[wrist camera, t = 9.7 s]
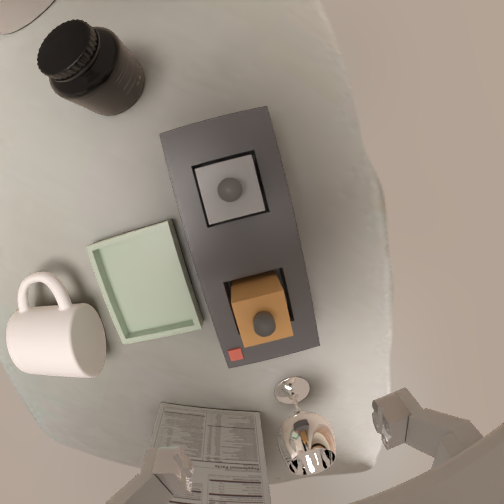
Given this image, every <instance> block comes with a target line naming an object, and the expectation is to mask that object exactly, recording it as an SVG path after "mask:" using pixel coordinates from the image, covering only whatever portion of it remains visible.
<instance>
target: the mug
mask: <svg viewBox="0 0 504 504" xmlns="http://www.w3.org/2000/svg"><path fill="white" fill-rule="evenodd" d="M35 282H43V283H45V284H46V285H47V286H48V287H49V288H50V290H51V291H52V293H53V294H54V296H55V298H56V301H57V303H58V305H53V306H40V307H30V305H29V301H28V288H29V286H30V285H31V284H33V283H35ZM18 307H19V309H18V310H16V311H15V312H14V313H13V314H12V316H11V317H10V319H9V322H8V325H7V331H6V341H7V347H8V351H9V354H10V356H11V359H12V360H13V362H14V363H15V365H16V366H17V367H18V368H19V369H20V370H21V371H23V372H25V373H29V374H39V375H51V376H66V377H87V378H92V377H95V376H97V375H98V374H99V373H100V372H101V370H102V368H103V366H104V363H105V358H106V337H105V332H104V327H103V324H102V321H101V319H100V317H99V315H98V313H97V312H96V310H95V309H94V308H93V307H92V306H91V305H89V304H86V303H79V304H72V303H71V300H70V298H69V295H68V293H67V291H66V289H65V287H64V285H63V284H62V282H61V281H60V280H59V279H58V278H57V277H56V276H55V275H53V274H51V273H49V272H35V273H32V274H30V275H29V276H27V277H26V278H25V279H24V280H23V281H22V283H21V285H20V287H19V290H18Z"/></svg>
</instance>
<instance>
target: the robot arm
mask: <svg viewBox="0 0 504 504" xmlns="http://www.w3.org/2000/svg"><path fill="white" fill-rule="evenodd" d="M53 1H54V0H0V33H1V34H9V33H12V32H15V31H17V30H19V29H21V28H22V27H24V26H26V25H27V24H29V23H30V22H31V21H33V20H34V19H35V18H36V17H38V16H39V15H40V14H41V13H42V12H43V11H44V10H45V9H46V8H47V7H48V6H49V5H50V4H51V3H52V2H53ZM372 407H373V409H374V412H373V413H372V418H373V423H374V426H375V429H376V431H377V433H380V434H382V435H381V440H382V442H383V444H384V445H385V447H386V449H387V450H388V449H390V448H393V447H395V446H398V445H400V444H402V443H406V444H408V445H410V446H412V447H413V448H416V449H418V450H420V451H422V452H424V453H426V454H428V455H430V456H432V457H434V458H435V459H434V462H433V465H432V468H431V469H430V470H428V471H427V472H425V473H423V474H421V475H419V476H417V477H415V478H412V479H410V480H408V481H406V482H404V483H402V484H399V485H397V486H395V487H393V488H390V489H388V490H385V491H383V492H380V493H378V494H375V495H373V496H370V497H367V498H365V499H362V500H359V501H356V502H353V503H350V504H504V423H503V424H501V425H500V426H498V427H497V428H496V429H495V430H493V431H492V432H490V433H489V434H488V435H486V436H485V437H483V436H482V435H481V433H480V432H479V431H478V430H477V429H476V427H474V425H473V424H472V423H471V422H470V421H469V420H465V419H462V418H458V417H454V416H451V415H448V414H444V413H441V412H437V411H434V410H431V409H427V408H425V409H423V408H422V407H421V406H420V405H419V403H418V402H417V401H416V399H415V398H414V397H413V396H412V394H411V393H410V392H409V391H408V389H407V388H402V389H400V390H398V391H396V392H393V393H390V394H388V395H386V396H383V397H381V398H378V399H376V400H373V402H372ZM184 452H185V450H184V449H183V448H182V446H171V447H149V448H148V449H147V450H146V454H145V458H144V462H143V465H142V469H141V473H140V474H137V475H136V476H135V477H134V478H133V479H132V480H131V481H129V482H128V483H127V484H126V485H125V486H124V487H123V488H122V489H121V490H119V491H118V492H117V493H116V494H115V495H114V496H113V497H111V498H110V499H109V500H108V501H107V502H106V504H168V503H169V501H170V500H171V499H172V497H173V495H187V494H191V491H192V482H191V480H190V478H191V477H192V476H193V464H192V462H191V459H190V458H189V456H187V455H185V454H184Z"/></svg>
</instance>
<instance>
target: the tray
mask: <svg viewBox="0 0 504 504" xmlns="http://www.w3.org/2000/svg"><path fill="white" fill-rule="evenodd" d="M86 249H87V252H88V255H89V258H90V261H91V264H92V267H93V270H94V273H95V276H96V279H97V282H98V284H99V287H100V290H101V292H102V295H103V298H104V300H105V303H106V305H107V308H108V310H109V313H110V315H111V318H112V320H113V322H114V325H115V327H116V329H117V332H118V334H119V336H120V338H121V341H122V343H123V344H129V343H134V342H140V341H145V340H150V339H156V338H161V337H166V336H171V335H176V334H181V333H185V332H190V331H195V330H199V329H202V325H203V318H202V315H201V312H200V309H199V306H198V303H197V300H196V297H195V294H194V291H193V288H192V284H191V281H190V278H189V275H188V272H187V269H186V265H185V262H184V259H183V256H182V252H181V249H180V246H179V242H178V239H177V235H176V232H175V228H174V225H173V221H172V219H170V220H166V221H163V222H159V223H156V224H152V225H149V226H146V227H142V228H139V229H136V230H133V231H129V232H126V233H123V234H120V235H117V236H113V237H110V238H107V239H104V240H101V241H98V242H95V243H92V244H90V245H88V246H86Z"/></svg>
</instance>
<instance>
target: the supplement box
mask: <svg viewBox="0 0 504 504" xmlns="http://www.w3.org/2000/svg"><path fill="white" fill-rule="evenodd" d="M171 446H182V448H183V449H184V450H185V452H184V454H185V455H187V456H189V458H190V459H191V462H192V464H193V476H192V477H191V478H190V480H191V482H192V491H191V494H187V495H173V497H172V499H171V500H170V501H169V503H168V504H271V498H270V491H269V483H268V475H267V468H266V460H265V452H264V444H263V436H262V428H261V419H260V413H259V412H247V411H231V410H218V409H208V408H199V407H190V406H182V405H175V404H168V403H161V404H160V407H159V411H158V414H157V418H156V421H155V425H154V428H153V432H152V436H151V439H150V443H149V447H171ZM149 447H148V448H149Z"/></svg>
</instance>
